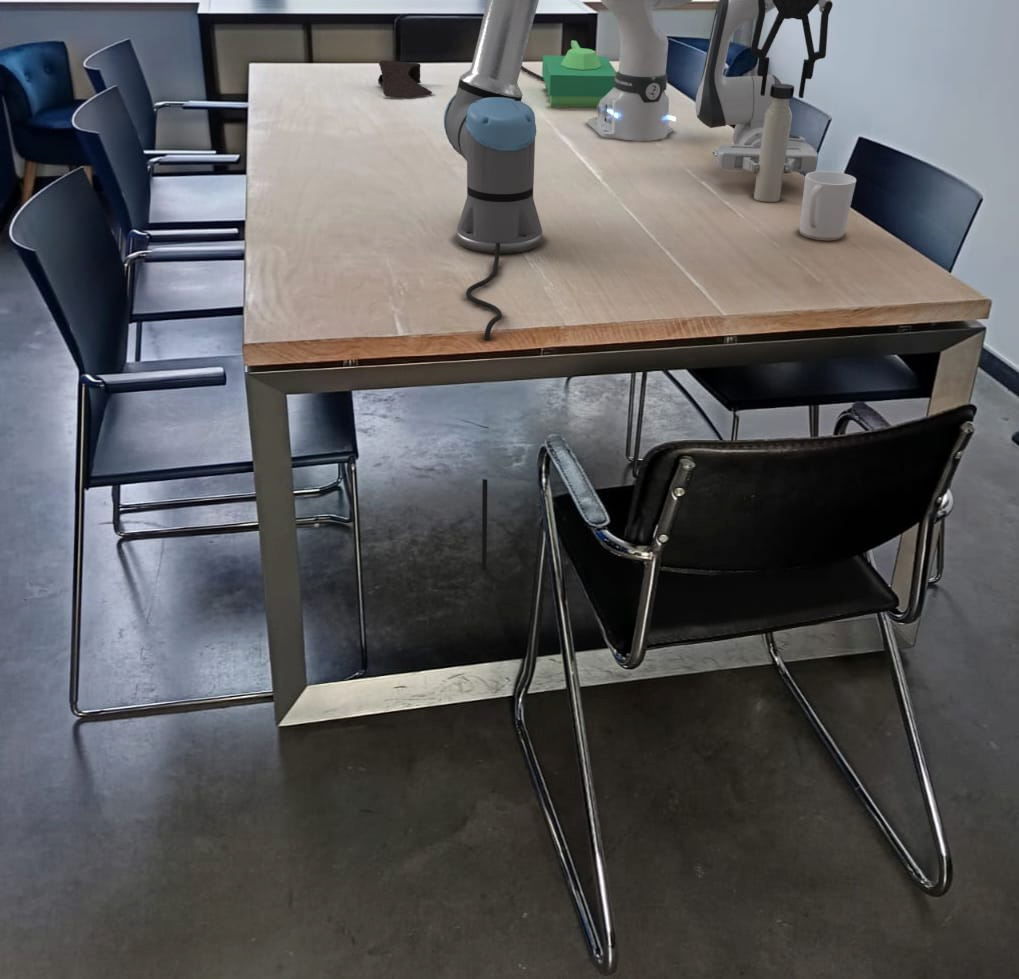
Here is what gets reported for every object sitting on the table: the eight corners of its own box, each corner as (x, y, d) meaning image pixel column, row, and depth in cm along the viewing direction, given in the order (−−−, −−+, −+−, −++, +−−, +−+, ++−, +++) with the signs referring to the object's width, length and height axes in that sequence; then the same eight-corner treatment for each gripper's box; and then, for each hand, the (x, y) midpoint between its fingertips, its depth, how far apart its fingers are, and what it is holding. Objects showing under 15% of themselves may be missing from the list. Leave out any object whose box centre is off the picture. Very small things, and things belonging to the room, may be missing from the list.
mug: (809, 222, 208) (818, 168, 202) (854, 233, 203) (864, 177, 197) (782, 236, 200) (791, 180, 195) (827, 247, 195) (838, 190, 190)
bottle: (757, 202, 219) (772, 93, 208) (751, 194, 223) (765, 87, 212) (782, 202, 219) (799, 93, 208) (775, 194, 224) (791, 87, 213)
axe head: (443, 87, 294) (392, 77, 287) (436, 115, 299) (385, 106, 292) (421, 62, 307) (371, 52, 300) (414, 89, 311) (365, 80, 304)
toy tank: (603, 37, 308) (620, 60, 279) (600, 82, 315) (616, 110, 285) (541, 36, 308) (551, 59, 278) (539, 81, 314) (548, 109, 284)
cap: (793, 99, 209) (795, 88, 208) (769, 98, 209) (771, 87, 208) (792, 94, 212) (794, 84, 211) (769, 93, 213) (770, 82, 212)
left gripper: (746, -37, 197) (730, 96, 209) (857, -32, 194) (834, 102, 206) (746, -41, 203) (730, 88, 215) (854, -37, 200) (832, 94, 212)
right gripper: (713, 134, 228) (721, 151, 216) (811, 137, 227) (825, 154, 215) (709, 164, 231) (717, 183, 219) (806, 167, 230) (820, 186, 219)
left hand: (781, 95), depth 211 cm, fingers open, 7 cm apart
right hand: (772, 169), depth 217 cm, fingers closed on bottle, 5 cm apart
